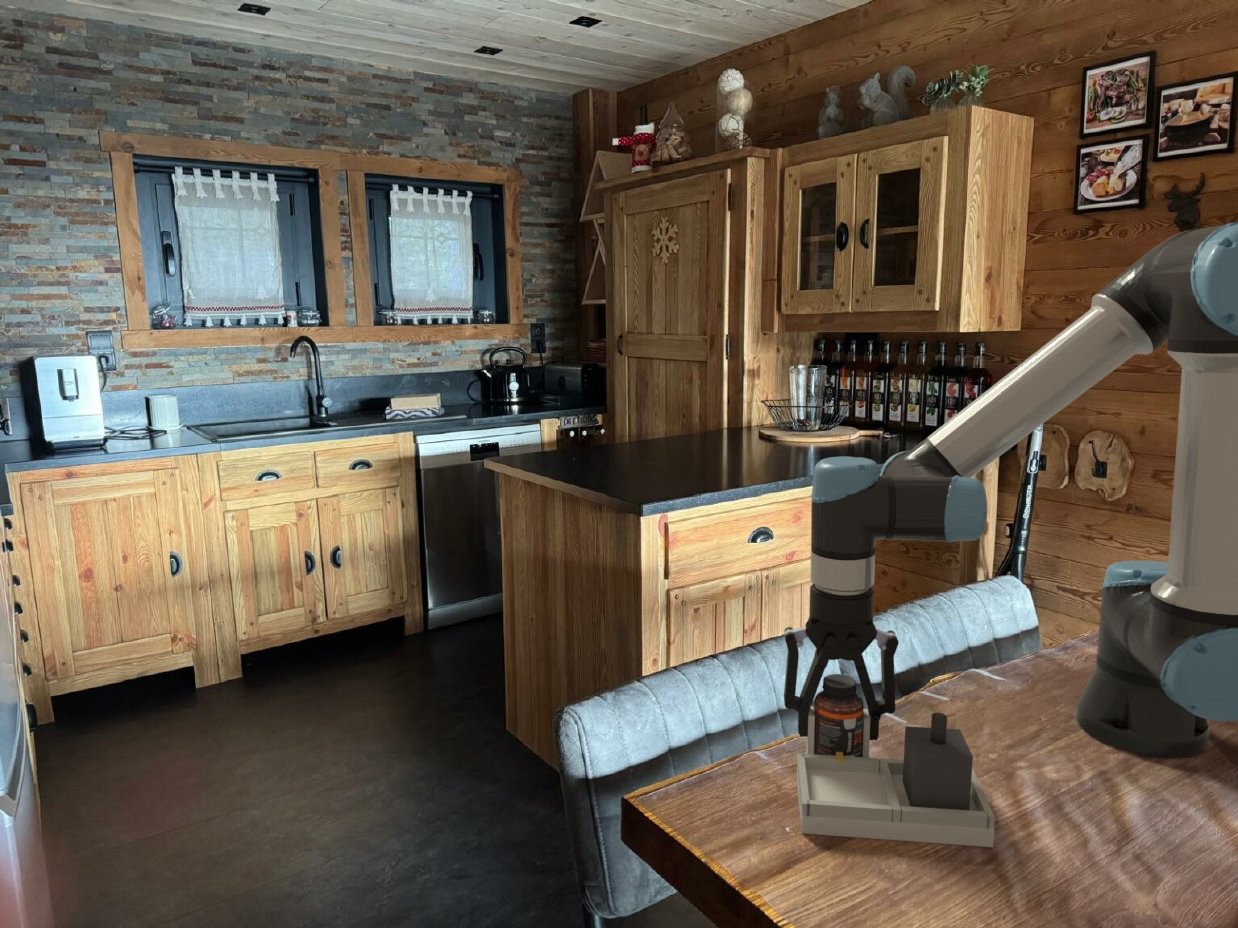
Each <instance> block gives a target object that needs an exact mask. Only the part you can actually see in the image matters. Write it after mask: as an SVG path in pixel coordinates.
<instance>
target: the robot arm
mask: <svg viewBox="0 0 1238 928" xmlns="http://www.w3.org/2000/svg"><path fill="white" fill-rule="evenodd" d="M1091 299H1092V300H1091V306H1090V309H1089V310H1087V311H1086V312H1085V313H1084V314H1082V315H1081V316H1080V317H1078V319H1076V320H1074V321H1073V322H1072V323H1071V324H1069V325H1068V326H1067V327H1066V328H1064V329H1063V330H1062V331H1060V333H1058V334H1056V335H1055V337H1053V338H1052V339H1050V340H1049V341H1048V342H1047V343H1045V344H1044V345H1043V346H1042V347H1040V348H1039V349H1037V351H1035V352H1034V353H1032V354H1031V355H1030V356H1028V357H1027V358H1026V359H1025V360H1024V361H1023V362H1022V363H1020V364H1019V365H1017V367H1015V368H1013V370H1011V371H1010V372H1009V373H1007V374H1006V375H1005V376H1003V377H1002V378H1000V380H998V381H997V382H996V383H995V384H993V385H992V386H991V387H989V389H987V390H985V391H984V392H983V393H982V394H980V395H979V396H978V397H977V398H975V399H974V400H973V401H972V402H970V403H969V404H968V405H967V406H965V407H964V408H963V409H962V410H960V411H959V412H958V413H956V414H955V415H954V416H953V417H951V418H950V419H949V420H948V421H946V422H945V423H944V424H943V425H942V426H940V427H938V428H937V429H936V430H934V432H932V433H931V434H930V435H929V436H927V437H926V438H924V439H923V440H922V441H921V442H919V443H917V444H916V445H915V446H914V447H912V448H911V449H910V450H905V451H900V452H897V453H895V454H893V455H892V456H890V457H889V458H888V459H887V460H886V461H885V462H884V464H883V465H882V468H881V471H880V472H879V466H878V463H877V462H876V461H875V460H873V459H869V458H868V457H867V458H866V457H859V456H858V457H856V456H855V457H854V456H847V455H846V456H842V455H841V456H833V457H832V456H831V457H827V458H826V457H825V458H823V459H821V460H819V461H818V462H817V463H816V465H815V466H814V469H813V478H812V491H811V509H810V510H811V517H810V519H811V521H810V522H811V524H810V526H811V527H810V528H811V529H810V531H811V532H810V533H811V534H810V536H811V537H810V539H811V540H810V542H811V543H810V549H811V550H810V575H809V576H810V577H809V578H810V579H809V580H810V582H811V583H812V584H811V585H810V587H809V617H808V619H807V621H806V622H805V625H804V626H802V627H797V628H793V627H790V626H787V627H785V629H784V631H783V632H784V640H785V643H786V647H787V656H786V665H785V667H786V668H785V677H784V678H785V679H784V689H783V701H784V702H783V703H784V707H785V708H786V709H787V710H794V711H796V712H797V732H798V736H799V737H805V738H806V742H805V744H806V745H805V746H806V749H805V754H814V731H815V714H814V706H813V705H812V703H813V702H814V700H815V697H816V695H817V691H818V688H819V686H820V682H821V679H822V678H823V675H824V672H825V669H826V668H827V666H828V663H829V662H830V661H836V660H837V661H838V660H840V659H841V660H844V661H847V662H851V661H852V662H853V663H854V666H855V669H856V670H855V671H856V673H857V676H858V679H859V683H860V686H861V690H862V692H863V695H864V696H863V697H864V700H865V702H866V706H867V708H864V710H863V712H864V713H863V739H862V757H864V758H870V741H871V740H872V741H877V740H878V738H879V735H880V734H879V733H880V720H881V718H882V715H884V714H891V715H892V714H894V713H895V711H896V686H895V685H896V683H895V681H896V680H895V654H896V652H897V648H898V646H899V642H900V641H899V639H898V637H897V635H896V632H895V631H894V630H891V629H890V630H887V631H883V630H881V629H878V628H876V625H875V624H874V597H875V595H874V594H875V592H874V588H873V587H872V586H873V585H874V584H875V576H876V575H875V572H876V571H875V570H876V569H875V568H876V567H875V565H876V564H875V563H876V544H877V543H876V542H877V540H887V541H888V540H889V541H892V540H895V541H898V540H899V541H924V542H926V541H927V542H947V543H948V544H949V543H951V544H952V543H954V542H970V541H972V542H973V541H976V540H978V539H980V538H981V537H982V535H983V534H984V533H985V530H986V525H987V520H988V499H987V498H988V497H987V492H986V488H985V485H984V484H983V483H982V481H981V480H980V479H978V478H976V477H974V476H976V475H977V474H978V473H980V472H981V471H982V470H984V469H985V468H986V467H987V466H989V465H990V464H992V462H994V461H995V460H997V459H998V458H999V457H1000V456H1002V455H1003V454H1004V453H1006V452H1008V451H1009V450H1010V449H1011V448H1012V447H1014V446H1015V445H1017V444H1018V443H1020V441H1022V440H1023V439H1024V438H1026V437H1027V436H1028V435H1030V434H1031V433H1033V432H1034V431H1035V430H1037V429H1038V428H1040V426H1042V425H1043V424H1045V423H1046V422H1047V421H1049V420H1051V418H1052V417H1054V416H1055V415H1056V414H1058V413H1059V412H1060V411H1062V410H1063V409H1064V408H1066V407H1067V406H1068V405H1070V404H1071V403H1072V402H1074V401H1075V400H1076V399H1078V398H1079V397H1080V396H1082V395H1083V394H1084V393H1086V392H1087V391H1088V390H1089V389H1091V388H1092V387H1094V386H1095V385H1096V384H1098V383H1099V382H1100V381H1101V380H1103V379H1104V378H1106V377H1107V376H1108V375H1109V374H1112V372H1114V371H1115V370H1116V369H1118V368H1119V367H1120V366H1121V365H1122V364H1124V363H1126V361H1128V360H1130V359H1131V358H1132V357H1134V356H1135V355H1146V356H1147V355H1150V354H1152V353H1153V352H1154V351H1155V350H1158V348H1160V347H1161V346H1163V344H1165V343H1167V347H1166V350H1167V352H1166V353H1167V354H1168V355H1169V357H1171V358H1172V359H1173V360H1174V361H1175V362H1176V363H1177V364H1178V365H1179V367H1180V368H1181V379H1180V391H1179V404H1178V405H1179V407H1178V421H1177V434H1176V435H1177V436H1176V447H1175V461H1174V462H1175V464H1174V474H1173V476H1174V477H1173V489H1172V490H1173V491H1172V505H1171V517H1170V528H1169V529H1170V531H1169V532H1170V533H1169V544H1168V545H1169V546H1168V558H1167V559H1168V561H1155V560H1122V561H1120V560H1119V561H1116V562H1113V563H1112V564H1109V566H1108V567H1107V568H1106V570H1105V573H1104V580H1103V582H1102V583H1103V584H1101V590H1102V593H1101V604H1100V605H1101V606H1100V616H1099V628H1098V629H1099V630H1098V641H1097V653H1096V662H1095V668H1094V669H1093V672H1092V673H1091V676H1090V678H1089V679H1088V681H1087V683H1086V685H1085V687H1084V689H1083V691H1082V693H1081V694H1080V697H1079V698H1078V701H1077V709H1076V721H1077V723H1078V725H1079V726H1080V728H1081V729H1083V731H1084V732H1085V733H1087V734H1088V735H1090V737H1093V738H1095V739H1096V740H1098V741H1099V742H1101V743H1104V744H1106V745H1109V746H1111V747H1113V748H1117V749H1118V750H1122V751H1124V752H1125V751H1126V752H1128V753H1133V754H1136V755H1141V756H1145V757H1152V758H1159V759H1160V758H1161V759H1185V758H1193V757H1196V756H1198V755H1201V754H1203V753H1204V752H1205V751H1206V750H1207V749H1208V746H1209V739H1210V738H1209V737H1210V732H1211V731H1210V724H1209V721H1213V722H1224V723H1227V722H1228V723H1229V722H1238V222H1229V223H1227V224H1221V225H1216V226H1215V225H1214V226H1209V227H1206V226H1205V227H1200V228H1199V227H1198V228H1194V229H1188V230H1184V231H1182V232H1181V231H1180V232H1179V233H1177V234H1174V235H1172V236H1170V237H1168V238H1166V239H1165V240H1163V241H1162V242H1160V243H1159V244H1157V245H1156V246H1154V247H1152V248H1151V249H1150V250H1149V251H1147V252H1146V253H1145V254H1144V255H1142V256H1141V257H1140V258H1138V260H1136V261H1135V262H1133V263H1132V264H1131V265H1130V266H1129V267H1127V269H1125V270H1124V271H1123V272H1121V273H1120V274H1119V275H1118V276H1117V277H1116V278H1114V279H1112V281H1111V282H1109V283H1108V284H1107V285H1106V286H1105V287H1103V288H1102V289H1101V290H1099V291H1098V292H1097V293H1095V294H1094V295H1093V296H1092V298H1091ZM805 638H808V639H809V641H810V642H811V643H812V645H813V646H814V647H815V650H814V654H813V655H814V656H813V659H812V661H811V665H810V667H809V670H808V672H807V675H806V678H805V681H804V684H803V686H802V689H801V691H800V694H799V696H798V695H796V689H797V680H798V679H797V678H798V667H799V652H800V651H799V648H801V647H802V646H803V645H804V641H805ZM874 641H877V642H876V643H877V647H878V649H879V650H880V667H881V668H880V669H881V671H880V674H881V675H880V676H881V695H882V697H881V699H877V698H876V695H875V693H874V689H873V688H874V687H873V686H872V682H871V679H870V676H869V673H868V669H867V666H866V662H865V659H864V657H863V653H864V652H865V651H866V650H867V648H869V646H870V645H871V644H872V643H873V642H874Z"/></svg>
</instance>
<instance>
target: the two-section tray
mask: <svg viewBox="0 0 1238 928" xmlns="http://www.w3.org/2000/svg"><path fill="white" fill-rule="evenodd" d="M878 759H879V773H864V772H848V771H832V770H816V769H806V775H807V784H808V792H809V800H819V801H834V802H849V803H863V804H878V805H891V807H892V822H882V821H868V820H853V819H839V818H825V817H810V816H802V810H801V800H800V790H799V780H798V769H797V768H796V787H797V788H796V789H797V797H798V799H797V800H798V807H799V808H798V809H799V818H800V819H799V820H800V829H801V834H803V835H805V834H806V835H808V834H809V835H818V836H819V835H820V836H829V837H830V836H831V837H832V836H833V837H846V838H859V839H860V838H861V839H873V840H885V841H886V840H888V841H902V842H915V843H928V844H939V845H940V844H942V845H955V846H956V845H957V846H970V847H971V846H972V847H981V848H982V847H984V848H994V843H995V842H994V841H995V820H996V816H995V814H994V813H995V812H994V811H993V809H992V808H991V805H990V803H989V801H988V799H987V797H986V794H985V792H984V790H983V788H982V786H981V784H980V781H979V778H978V777H977V775H976V773H975V771H974V768H973V767H972V778H971V793H970V808H969V811H968V810H953V809H938V808H923V807H910V804H909V800H908V797H907V794H906V791H905V788H904V784H903V765H904V759H898V758H896V759H894V758H880V757H879V758H878Z"/></svg>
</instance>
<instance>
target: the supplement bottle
mask: <svg viewBox="0 0 1238 928" xmlns="http://www.w3.org/2000/svg"><path fill="white" fill-rule="evenodd" d="M864 705H865V704H864V701H863V699H862V697H861V696H860V695H859V694H858V693H857V680H856V679H855V678H854V677H852V676H851V675H847V674H841V673H832V674H827V675H826V676H824V677H823V680H822V690H821V691H819V692H818V693H816V694H815V696H814V706H813V708H814V714H815V731H814V755H830V756H836V752H843V756H847V757H862V739H863V713H864V712H863V710H864V709H865V708H864V707H865V706H864Z"/></svg>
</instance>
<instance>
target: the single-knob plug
mask: <svg viewBox="0 0 1238 928" xmlns="http://www.w3.org/2000/svg"><path fill="white" fill-rule="evenodd" d="M930 723H931V724H930V727H921V726H907V725H906V726H905V728H904V730H905V731H904V744H903V745H904V749H903V760H904V765H903V784H904V788H905V791H906V794H907V797H908V800H909V804H910V807H923V808H938V809H953V810H968V811H969V808H970V793H971V778H972V768H973V762H974V761H973V759H974V756H973V754H972V752H971V750H970V747H969V745H968V743H967V741H966V739H965V737H964V735H963V733H962V731H961V729H959V728H947V726H948V715H946V714H944V713H943V712H934V713H932V714H931V722H930Z"/></svg>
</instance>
